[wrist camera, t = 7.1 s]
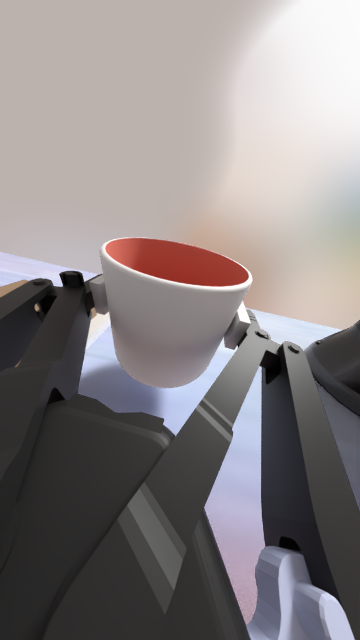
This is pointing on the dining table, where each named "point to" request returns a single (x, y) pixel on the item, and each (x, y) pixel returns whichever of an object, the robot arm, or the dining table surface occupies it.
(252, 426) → the dining table surface
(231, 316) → the cup
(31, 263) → the dining table surface
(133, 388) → the dining table surface
